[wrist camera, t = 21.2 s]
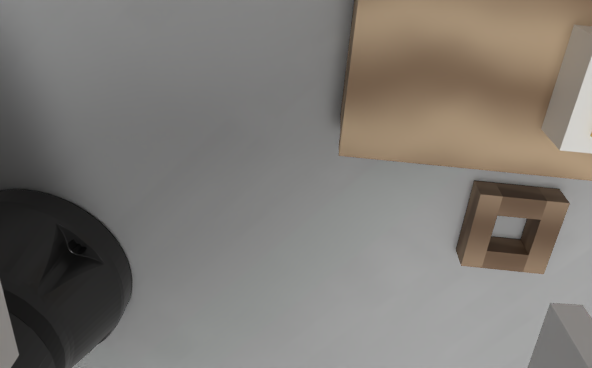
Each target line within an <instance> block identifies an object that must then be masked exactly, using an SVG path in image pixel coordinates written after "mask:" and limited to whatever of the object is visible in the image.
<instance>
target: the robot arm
mask: <svg viewBox="0 0 592 368" xmlns="http://www.w3.org/2000/svg"><path fill="white" fill-rule="evenodd" d="M131 290H132V278H131V272H130V268H129V264H128V262H127V259H126V257H125V255H124V253H123V251H122V249H121V247H120V246H119V244H118V243H117V241H116V240H115V238H114V237H113V236H112V235H111V234H110V232H109V231H108V230H107V229H106V228H105V227H104V226H103V225H102V224H101V223H100V222H98V221H97V220H96V219H95V218H94V217H92V216H91V215H90V214H88V213H87V212H85V211H84V210H82V209H80V208H79V207H77V206H75V205H73V204H71V203H69V202H67V201H65V200H63V199H60V198H58V197H55V196H52V195H49V194H45V193H41V192H36V191H29V190H4V191H0V368H72V367H73V366H74V365H75V364H76V363H78V362H79V361H80V360H81V359H82V358H83V357H84V356H85V355H87V354H88V353H89V352H90V351H91V350H92V349H93V348H94V347H95V346H96V345H98V344H99V343H101V342H102V341H103V340H105V339H106V338H107V337H108V336H109V335H110V334H111V332H112V331H113V330H114V328H115V327H116V326H117V324H118V322H119V320H120V318H121V316H122V315H123V313H124V311H125V309H126V307H127V305H128V302H129V299H130V296H131ZM528 368H592V318H591V317H590V315H589V314H588V312H587V311H586V309H585V308H584V306H583V305H576V304H560V303H550V305H549V308H548V311H547V314H546V316H545V319H544V322H543V325H542V328H541V331H540V334H539V337H538V339H537V342H536V345H535V348H534V351H533V354H532V357H531V360H530V362H529V365H528Z"/></svg>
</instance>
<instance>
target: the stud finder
mask: <svg viewBox="0 0 592 368" xmlns="http://www.w3.org/2000/svg"><path fill="white" fill-rule="evenodd" d="M541 129H542V131H543V132H544V133H545V134H546V135H547V136H548V137H549V139H550V140H551V141H552V142H553V143H554V144H555V146H556V147H557V148H558V149H559V150H560V151H571V152H581V153H591V154H592V26H582V25H574V26H573V30H572V33H571V36H570V39H569V42H568V46H567V49H566V52H565V55H564V58H563V61H562V65H561V68H560V71H559V74H558V77H557V81H556V84H555V87H554V90H553V93H552V96H551V100H550V103H549V106H548V109H547V112H546V116H545V119H544V122H543V125H542V128H541Z"/></svg>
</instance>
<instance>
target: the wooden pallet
mask: <svg viewBox="0 0 592 368" xmlns="http://www.w3.org/2000/svg"><path fill="white" fill-rule="evenodd" d="M574 25H582V26H592V0H354V8H353V16H352V24H351V32H350V40H349V49H348V57H347V65H346V73H345V81H344V89H343V98H342V106H341V114H340V120H341V132H340V140H339V156H347V157H357V158H367V159H377V160H387V161H398V162H408V163H418V164H428V165H438V166H448V167H458V168H469V169H479V170H489V171H499V172H509V173H519V174H529V175H540V176H550V177H560V178H570V179H580V180H590V181H592V154H591V153H581V152H571V151H560V150H559V149H558V148H557V147H556V146H555V144H554V143H553V142H552V141H551V140H550V139H549V137H548V136H547V135H546V134H545V133H544V132H543V131H542V129H541V128H542V125H543V122H544V119H545V116H546V112H547V109H548V106H549V103H550V100H551V96H552V93H553V90H554V87H555V84H556V81H557V77H558V74H559V71H560V68H561V65H562V61H563V58H564V55H565V52H566V49H567V46H568V42H569V39H570V36H571V33H572V30H573V26H574ZM569 204H570V203H569V202H568V200H567V199H566V198H565V196H564V195H563V194H562V192H561V191H560V190H559V189H553V188H543V187H533V186H523V185H513V184H502V183H492V182H482V181H474V183H473V187H472V191H471V195H470V198H469V202H468V206H467V210H466V214H465V217H464V221H463V225H462V229H461V233H460V236H459V240H458V244H457V248H456V252H457V255H458V258H459V261H460V264H461V266H470V267H480V268H489V269H499V270H509V271H518V272H528V273H538V274H544V272H545V269H546V267H547V264H548V261H549V258H550V256H551V253H552V250H553V248H554V245H555V242H556V239H557V237H558V234H559V231H560V228H561V226H562V223H563V220H564V218H565V215H566V212H567V209H568V207H569ZM497 215H498V216H508V217H518V218H527V221H526V224H525V227H524V231H523V234H522V237H521V240H520V239H510V238H500V237H491V235H492V232H493V228H494V225H495V221H496V218H497Z"/></svg>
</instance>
